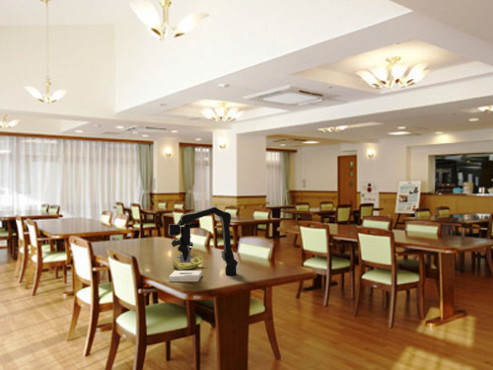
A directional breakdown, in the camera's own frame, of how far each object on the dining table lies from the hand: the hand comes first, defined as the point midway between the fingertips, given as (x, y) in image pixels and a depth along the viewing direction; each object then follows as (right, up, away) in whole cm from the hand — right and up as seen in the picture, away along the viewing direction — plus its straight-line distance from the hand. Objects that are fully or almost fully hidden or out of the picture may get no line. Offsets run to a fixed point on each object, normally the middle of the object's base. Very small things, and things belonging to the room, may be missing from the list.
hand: (185, 260), depth 253 cm
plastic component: (-3, -11, +32) cm, 34 cm away
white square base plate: (0, -11, 0) cm, 11 cm away
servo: (0, -1, 0) cm, 1 cm away
